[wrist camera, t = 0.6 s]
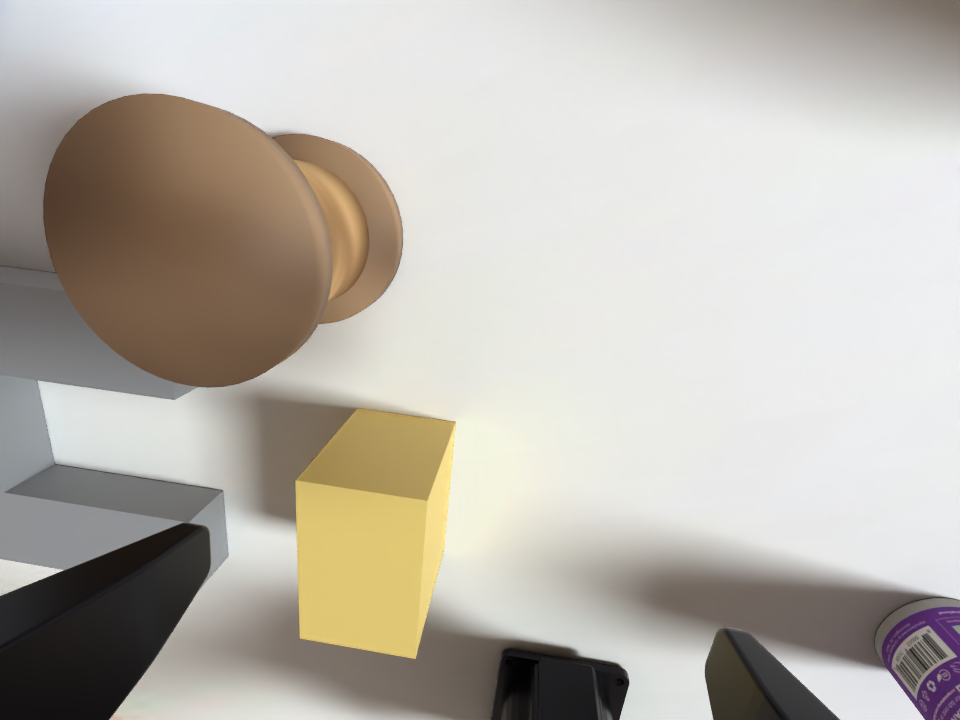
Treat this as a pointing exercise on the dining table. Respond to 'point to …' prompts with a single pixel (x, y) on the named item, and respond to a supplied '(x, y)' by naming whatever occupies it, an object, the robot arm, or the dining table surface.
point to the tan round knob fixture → (213, 236)
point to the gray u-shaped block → (27, 450)
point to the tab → (373, 531)
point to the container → (925, 655)
